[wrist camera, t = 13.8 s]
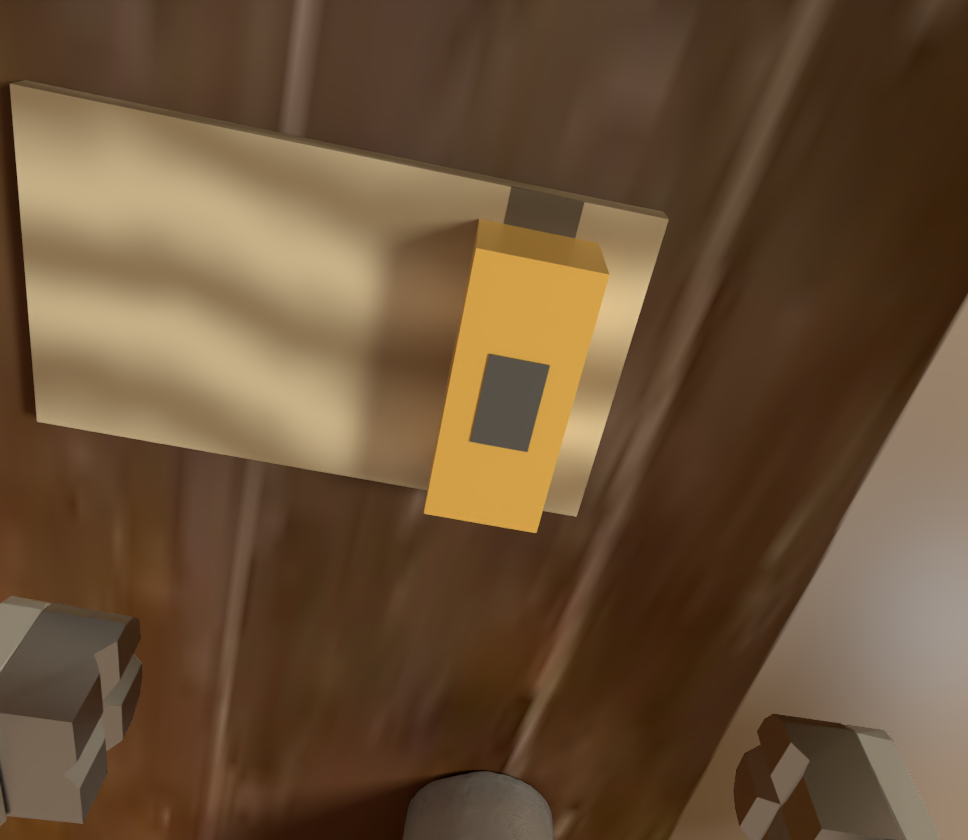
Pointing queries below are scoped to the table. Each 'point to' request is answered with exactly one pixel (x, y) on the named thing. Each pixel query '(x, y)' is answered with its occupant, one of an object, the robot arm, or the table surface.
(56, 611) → the robot arm
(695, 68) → the table surface
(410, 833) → the pillar candle
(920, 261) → the table surface
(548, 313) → the block
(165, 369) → the plywood panel
